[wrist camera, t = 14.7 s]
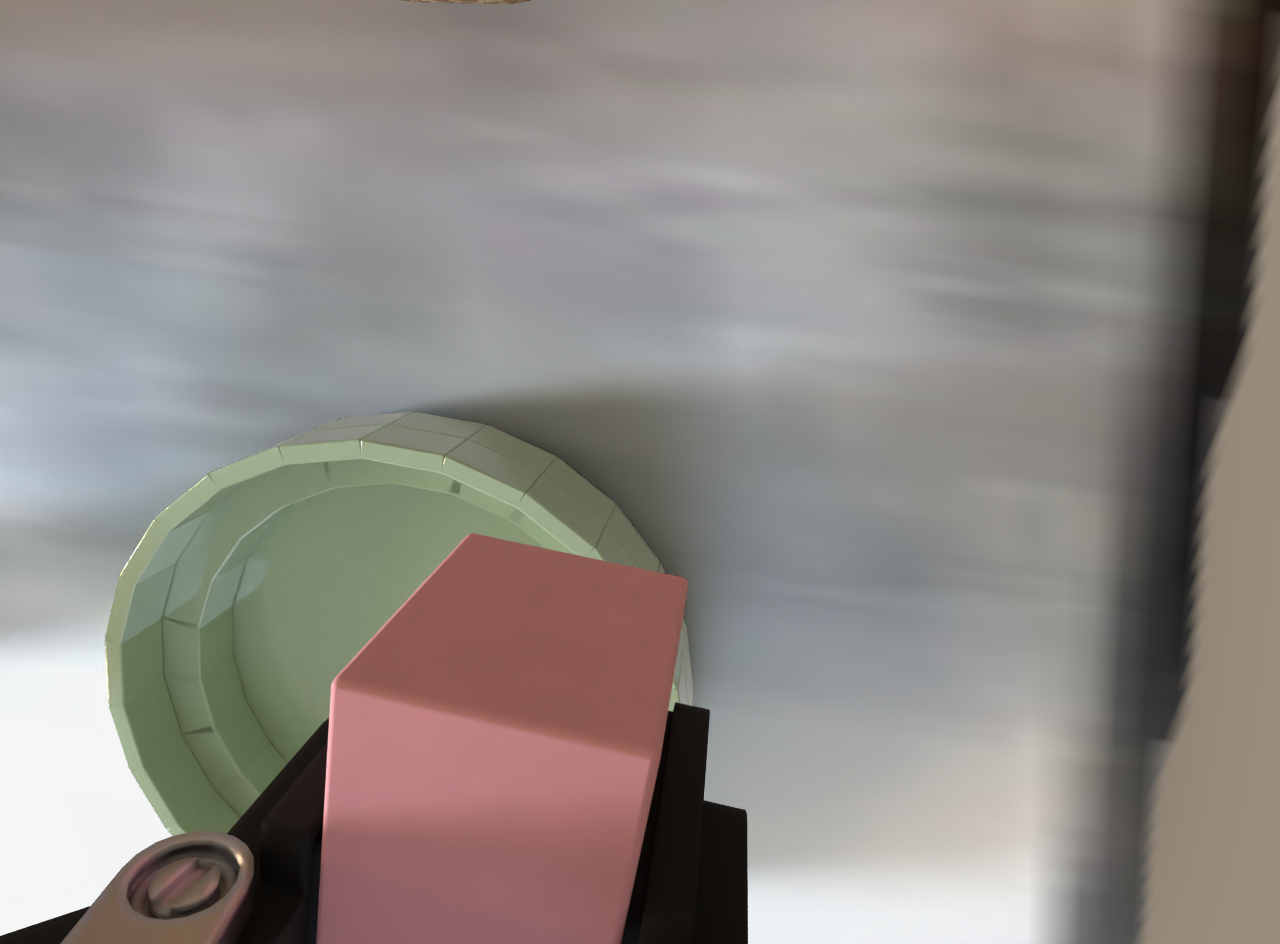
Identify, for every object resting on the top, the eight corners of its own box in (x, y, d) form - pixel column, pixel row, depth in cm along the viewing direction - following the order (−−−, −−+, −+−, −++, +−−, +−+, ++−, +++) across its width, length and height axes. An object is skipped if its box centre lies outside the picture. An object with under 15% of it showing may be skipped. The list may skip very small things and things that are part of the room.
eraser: (468, 529, 11) (327, 679, 7) (689, 576, 11) (661, 755, 7) (426, 909, 13) (298, 1178, 10) (611, 955, 13) (555, 1250, 9)
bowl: (190, 365, 27) (87, 389, 23) (737, 464, 26) (737, 508, 22) (199, 814, 33) (119, 900, 29) (648, 915, 32) (634, 1021, 27)
